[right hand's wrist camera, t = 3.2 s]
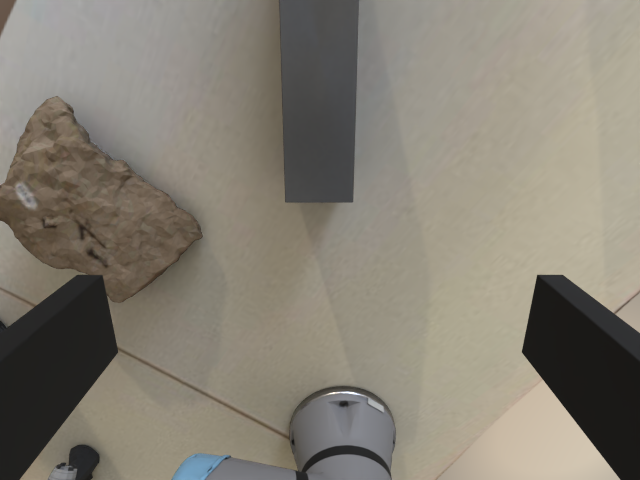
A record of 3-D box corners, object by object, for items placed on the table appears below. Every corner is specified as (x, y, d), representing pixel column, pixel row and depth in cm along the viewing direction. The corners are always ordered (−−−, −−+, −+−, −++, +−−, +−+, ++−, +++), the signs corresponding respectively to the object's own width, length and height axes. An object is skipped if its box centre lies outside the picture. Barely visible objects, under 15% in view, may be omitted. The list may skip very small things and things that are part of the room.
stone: (-34, 190, 45) (-66, 201, 39) (60, 92, 44) (41, 90, 39) (130, 301, 53) (122, 323, 48) (209, 219, 53) (211, 232, 47)
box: (346, 181, 48) (353, 202, 39) (291, 181, 48) (285, 202, 39) (353, -94, 39) (363, -150, 30) (285, -94, 39) (274, -150, 30)
